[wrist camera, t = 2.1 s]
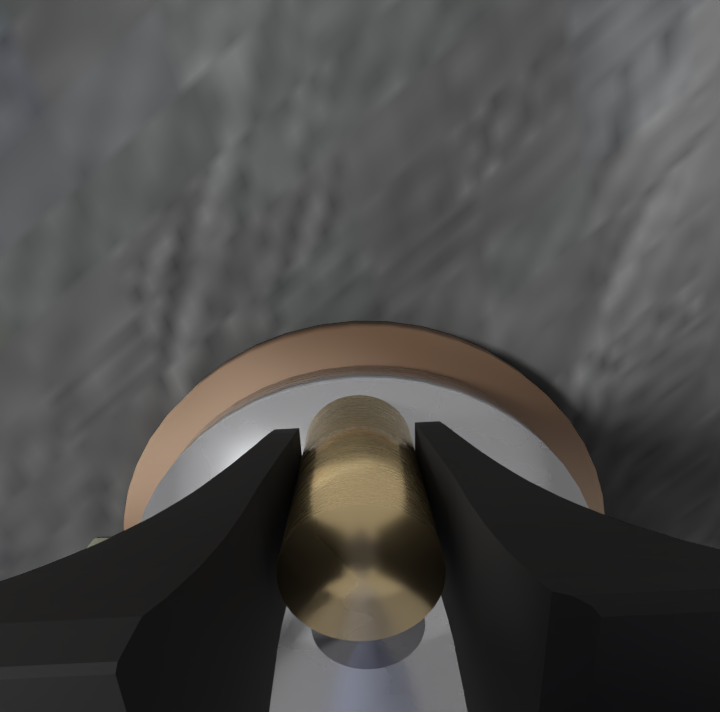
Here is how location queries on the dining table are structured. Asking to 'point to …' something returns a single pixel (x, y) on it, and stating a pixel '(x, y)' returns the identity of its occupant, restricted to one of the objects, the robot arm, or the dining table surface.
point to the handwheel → (363, 529)
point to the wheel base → (359, 348)
